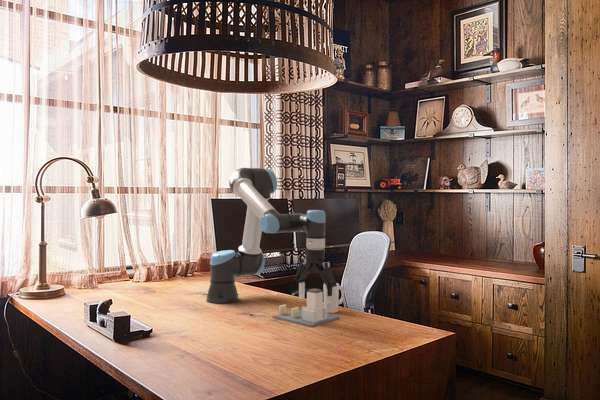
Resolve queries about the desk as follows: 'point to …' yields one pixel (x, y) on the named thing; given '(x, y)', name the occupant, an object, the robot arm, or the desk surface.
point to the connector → (315, 302)
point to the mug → (334, 299)
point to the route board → (303, 316)
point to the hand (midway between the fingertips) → (314, 301)
